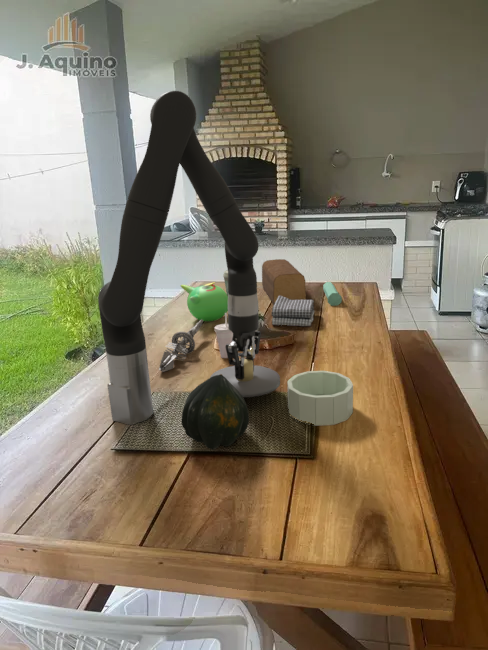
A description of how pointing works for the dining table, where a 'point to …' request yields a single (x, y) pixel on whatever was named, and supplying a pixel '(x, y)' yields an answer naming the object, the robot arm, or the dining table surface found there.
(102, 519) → the dining table surface
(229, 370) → the lid
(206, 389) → the squash
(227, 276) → the coffee cup
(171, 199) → the robot arm
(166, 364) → the spaceship
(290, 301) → the towel
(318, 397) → the bowl
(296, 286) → the bread
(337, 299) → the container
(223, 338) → the smoothie
